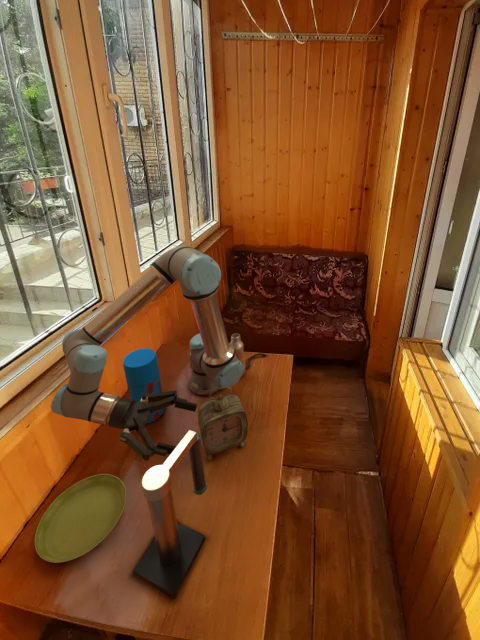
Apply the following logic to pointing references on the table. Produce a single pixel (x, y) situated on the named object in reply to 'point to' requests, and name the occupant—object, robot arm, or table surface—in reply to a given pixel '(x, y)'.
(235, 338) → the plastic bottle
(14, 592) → the table surface
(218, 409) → the tabletop clock
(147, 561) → the standpipe
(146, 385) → the thermos
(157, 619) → the table surface
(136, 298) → the robot arm
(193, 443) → the spout
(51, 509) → the green plate
